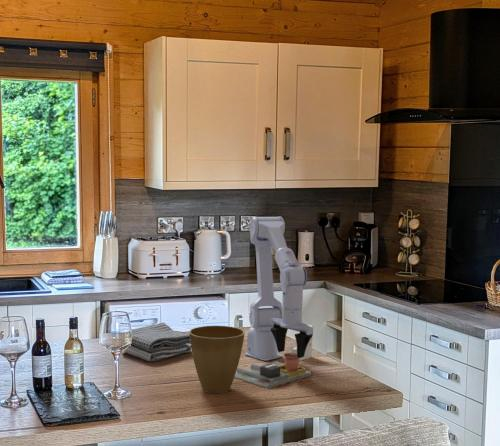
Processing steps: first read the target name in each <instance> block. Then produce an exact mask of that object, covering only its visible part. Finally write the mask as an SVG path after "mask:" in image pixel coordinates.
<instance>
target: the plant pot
mask: <svg viewBox="0 0 500 446" xmlns="http://www.w3.org/2000/svg"><path fill="white" fill-rule="evenodd" d="M188 333H189V335H190V341H191V344H190V345H191V353H192V358H193V363H194V365H195V366H194V367H195V370H196V374H197V377H198V381H199V383H200V386H201V388H202V390H203V391H204V392H205V393H206V392H207V393H210V394H221V393H227V392H229V390H230V389H231V387H232V384H233V381H234V378H236V377H235V374H236V372H237V368H239V363H240V359H241V356H242V350H243V345H244V339H245V335H246V334H245V330H243V329H242V328H238V327H234V326H228V325H205V326H204V325H203V326H197V327H194V328H191V329H190V330H189V332H188Z"/></svg>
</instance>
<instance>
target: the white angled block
mask: <svg viewBox="0 0 500 446" xmlns="http://www.w3.org/2000/svg"><path fill="white" fill-rule="evenodd" d="M307 325H308V326H310V327H313V326H314V325H311V324H307ZM313 328H314V327H313ZM312 348H313V337H312V338H311V339H310V341H309V343H308V345H307V348H306V351H305V354H304V357H301V358H299V361H303V360H307V359H310V358H312V357H313V353H312V352H313V349H312ZM291 353H296V354H297V346H296V347H292V348H291Z"/></svg>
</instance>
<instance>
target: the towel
mask: <svg viewBox="0 0 500 446" xmlns="http://www.w3.org/2000/svg"><path fill="white" fill-rule="evenodd" d="M131 330H132V336H133V337H132V344H131V346H129V347H128V348H127V349H126V350H125V351H123V352H124V353H126V354H129V355H131V356H133V357H136V358H139V359H140V360H141V359H142V360H144V361H146V362H157V361H160V360H165V359H169V358H171V357H176V356H178V355H182V354H186V353H190V352H192V348H191V341H190V334H187V333H185V332H181V331H177V330H174V329H172V328H171V327H170V326H169V325H168V324H166V323H165V322H160V323H155V324H152V325H147V326H142V327H137V328H133V329H131Z"/></svg>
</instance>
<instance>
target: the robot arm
mask: <svg viewBox="0 0 500 446" xmlns="http://www.w3.org/2000/svg"><path fill="white" fill-rule="evenodd" d="M285 229H286V223H285V219H284V218H283V217H282V216H279V215H278V216H252V218H251V219H250V222H249V238H250V239H249V240H250V243H251V244H253V245H254V247H255V248H254V249H255V259H256V278H257V279H256V280H257V293H258V294H257V295H258V296H257V298H256V299H255V300H254V301H252V303H251V304H250V305H249V315H248V316H249V317H248V319H249V324H250V326H251V327H250V328H249V329H248V331H247V333H246V334H247V335H246V352H245V353H244V355H245V356H249V357H251V358H255V359H258V360H261V361H266V362H267V361H270V360H275V359H279V358H282V357H283V358H284V354H282V352H285V349H286V348H285V347H286V338H287V333H288V330H291V331H296V332H298V333H295V334H294V338H295V342H296V347H297V357H298V358H301V357H304V354H305V351H306V348H307V345H308V343H309V341H310V339H311V338H312V339H313V336H314V327H310V326H308V325H309V324H305V323H303V301H304V300H303V299H304V298H303V297H304V296H303V295H304V286H306V284H307V282H308V273H307V269H306V267H305V265H302V264H301V263H299V262H298V260H297V258H296V255H295V253H294V251H293V249H291V248H289V247H288V246H287V242H286V239H285V236H284V233H285ZM272 248H273V249H274V251H275V254H274V259H275V262H276V264H277V267H278V269H279V272H280V274H279V280H280V289H281V292H282V301H281V302H280V301H279V300H278V299H277V298H276V297H275V295H274V293H275V292H274V275H273V274H274V273H273V259H272Z"/></svg>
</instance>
